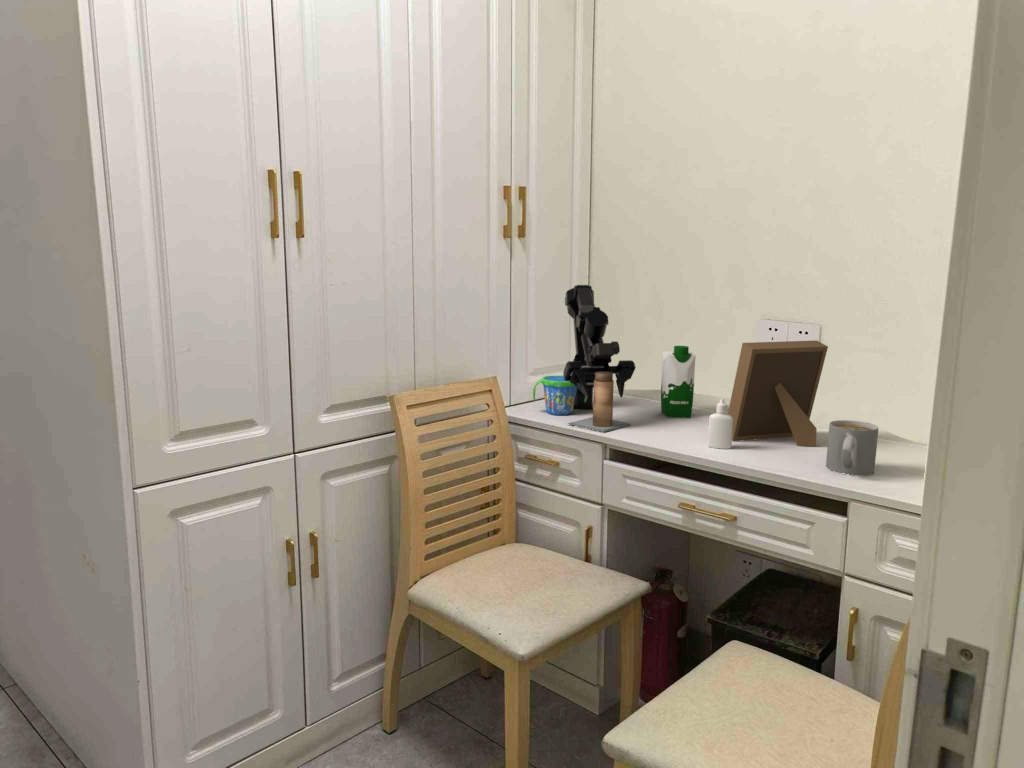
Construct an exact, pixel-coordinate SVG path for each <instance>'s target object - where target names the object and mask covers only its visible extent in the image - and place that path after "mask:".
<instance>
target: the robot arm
mask: <svg viewBox="0 0 1024 768" xmlns="http://www.w3.org/2000/svg"><path fill="white" fill-rule="evenodd" d="M594 294H595V291H594V290H593V288H592V285H589V284H576V285H574V286H573V287H572V288H570V289H568V290H566V293H565V295H566V297H565V296H564V305H565V306H566V309H567V314H568V315H569V316H570V317H571V318H572V320H573V321H572V322H573V331H574V332H573V334H574V344H575V347H574V348H575V356H574V358H573V361H572V360H568V361H567V362H566V364H565V366H564V370H563V375H562V376H564V380H565V381H569V382H570V383H573V384H574V385H575V386H576V387H578V388H577V391H576V395H575V401H574V406H573V409H583V410H585V409H586V410H588V409H589V410H593V395H594V380H595V373H596V372H611V373H613V375H614V376H615V378H616V380H615V384H616V386H617V391H618V394H619V397H620V398H623V395H624V392H625V391H624V390H625V383H626V382H628V380H631V378H632V377H633V374H634V372H635V371H636V363H635V362H634V361H633V360H631V359H630V360H629V359H628V360H623V359H622V360H619V361H618V363H617V365H610V363H611V362H612V356H614V355H618V354H619V353H620V351H621V350H620V349H621V348H620V344H619V341H611V342H604V338H603V337H605V334H606V330H607V327H608V325H609V316H608V315H607V313H606V312H604V311H603V310H602V309H601V308H600V307H599V306H596V305H595V296H594ZM585 396H586V397H587V400H586V402H584V398H585Z"/></svg>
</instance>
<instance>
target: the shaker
mask: <svg viewBox="0 0 1024 768" xmlns="http://www.w3.org/2000/svg"><path fill="white" fill-rule="evenodd" d="M613 379H614V374H613V373H611V372H596V373H595V380H594V387H593V409H592V417H593V426H596V427H611V426H612V420H613V419H614V418H613V417H614V416H613V414H614V413H613V411H614V384H615V382H614V380H613Z"/></svg>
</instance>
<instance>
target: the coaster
mask: <svg viewBox="0 0 1024 768" xmlns="http://www.w3.org/2000/svg"><path fill="white" fill-rule="evenodd" d="M568 424H569V425H574V426H578V427H577V428H579V427H583V428H587V429H586V430H588V429H593V430H597V431H601V432H600V433H602V432H605V433H608V432H607V431H609V432H611V431H610V430H612V431H616V430H618V428H620V429H623V428H626V427H630V426H631V423H630V422H624V421H619V420H614V419H612V426H611V427H596V426H593V416H592V417H591V416H590V417H588V418H584V419H580V420H575V421H572V422H567V425H568ZM569 425H568V426H569ZM574 426H573V427H574ZM583 428H582V429H583ZM615 429H616V430H615ZM593 430H592V431H593ZM597 431H596V432H597Z"/></svg>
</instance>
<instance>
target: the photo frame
mask: <svg viewBox="0 0 1024 768" xmlns="http://www.w3.org/2000/svg"><path fill="white" fill-rule="evenodd" d="M828 348H829V347H828V345H826V344H824V343H822V342H820V341H819V340H816V339H815V340H795V341H794V340H792V341H790V340H787V341H765V342H764V341H761V342H760V341H758V342H756V341H755V342H742V345H741V349H740V353H739V359H738V364H737V368H736V372H735V378H734V381H733V387H732V391H731V397H730V401H729V407H728V409H727V414H729V415H731V416H732V417H733V431H732V442H741V441H740V440H744V441H753V440H754V439H757V440H767V438H770V439H780V438H781V437H783V438H793V439H794V440H795V441H794V442H795V443H796V446H802V447H803V446H804V447H805V446H807V447H808V446H809V447H816V446H817V429H818V428H817V427H816V426H815V424H813V422H812V420H811V415H812V411H813V407H814V403H815V400H816V395H817V392H818V391H817V390H818V389H819V388H818V387H819V384H820V379H821V375H822V373H823V368H824V364H825V360H826V356H827V352H828ZM792 436H794V437H792ZM781 439H782V438H781Z"/></svg>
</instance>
